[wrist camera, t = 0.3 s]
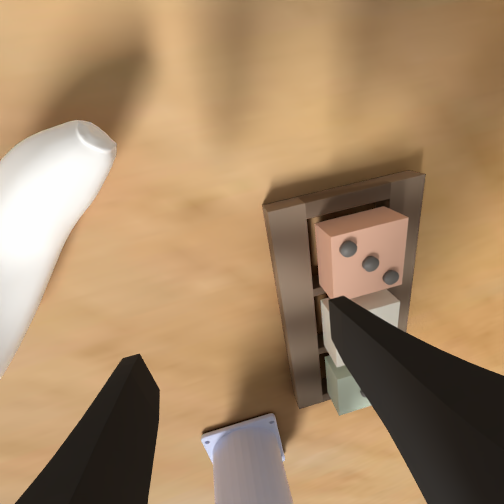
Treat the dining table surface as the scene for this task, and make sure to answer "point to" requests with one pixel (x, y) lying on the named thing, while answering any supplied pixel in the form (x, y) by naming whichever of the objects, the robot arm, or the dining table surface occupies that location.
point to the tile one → (343, 389)
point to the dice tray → (306, 287)
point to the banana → (43, 215)
